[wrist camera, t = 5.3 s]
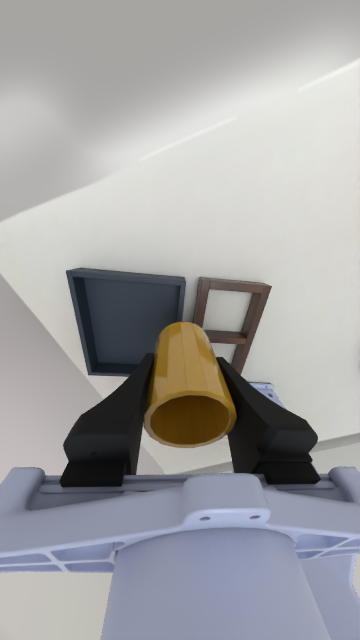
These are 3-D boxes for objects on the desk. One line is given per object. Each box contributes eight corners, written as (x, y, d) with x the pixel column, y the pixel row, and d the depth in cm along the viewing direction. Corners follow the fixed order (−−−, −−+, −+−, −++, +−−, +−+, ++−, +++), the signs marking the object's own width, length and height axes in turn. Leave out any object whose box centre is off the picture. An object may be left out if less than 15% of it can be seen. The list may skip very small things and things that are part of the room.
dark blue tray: (184, 277, 20) (186, 281, 17) (175, 366, 26) (175, 378, 24) (79, 267, 19) (65, 270, 16) (96, 363, 25) (88, 375, 23)
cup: (212, 323, 15) (248, 392, 8) (203, 365, 17) (224, 448, 10) (158, 319, 15) (143, 388, 7) (156, 362, 17) (143, 447, 10)
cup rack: (263, 282, 21) (272, 286, 19) (233, 374, 28) (237, 383, 26) (199, 277, 20) (202, 280, 18) (185, 372, 27) (186, 381, 25)
